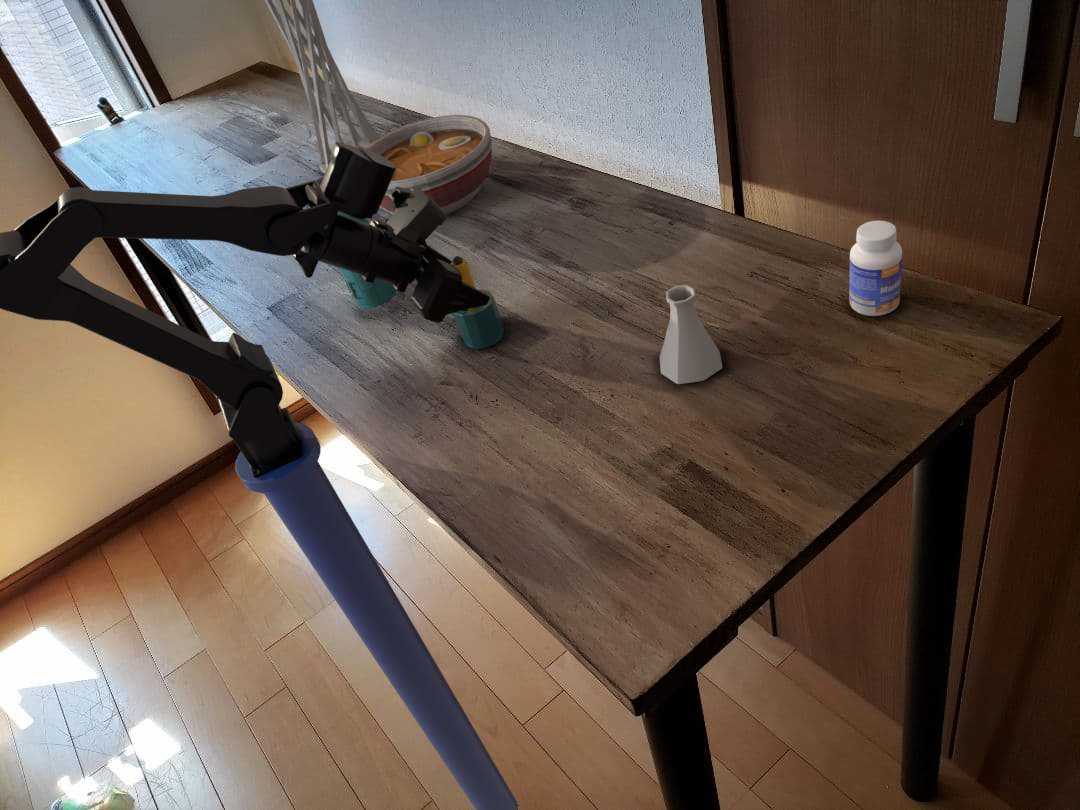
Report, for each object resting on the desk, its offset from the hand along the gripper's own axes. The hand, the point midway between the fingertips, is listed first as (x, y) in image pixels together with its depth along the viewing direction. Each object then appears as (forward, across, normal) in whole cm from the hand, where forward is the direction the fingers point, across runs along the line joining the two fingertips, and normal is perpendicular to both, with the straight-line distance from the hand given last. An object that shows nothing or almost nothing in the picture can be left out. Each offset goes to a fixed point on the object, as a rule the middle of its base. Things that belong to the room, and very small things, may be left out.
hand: (473, 285), depth 105 cm
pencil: (+4, 0, +6) cm, 7 cm away
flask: (+17, -23, -5) cm, 29 cm away
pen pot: (+5, 0, +6) cm, 8 cm away
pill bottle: (+32, -29, -21) cm, 48 cm away
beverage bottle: (-1, +19, +12) cm, 22 cm away
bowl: (+12, +40, -1) cm, 42 cm away
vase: (+8, +73, +3) cm, 73 cm away
